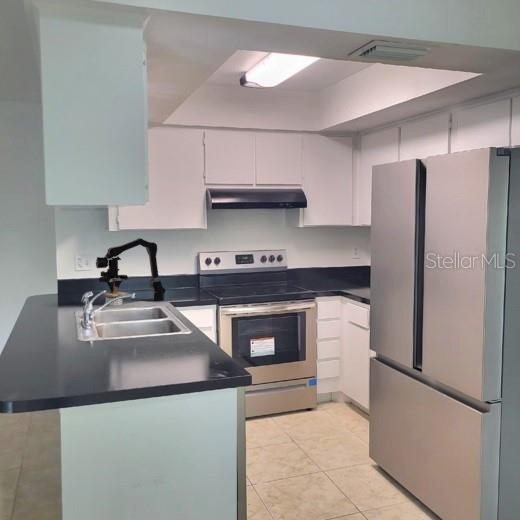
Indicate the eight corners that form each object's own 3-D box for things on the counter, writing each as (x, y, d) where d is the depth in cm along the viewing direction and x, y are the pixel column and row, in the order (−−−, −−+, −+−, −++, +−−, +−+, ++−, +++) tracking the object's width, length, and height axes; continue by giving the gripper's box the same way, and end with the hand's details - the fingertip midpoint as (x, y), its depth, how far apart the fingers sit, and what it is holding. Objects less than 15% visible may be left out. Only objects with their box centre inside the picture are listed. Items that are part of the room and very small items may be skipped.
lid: (115, 292, 337) (115, 284, 337) (129, 293, 330) (128, 286, 329) (99, 294, 326) (98, 287, 326) (112, 296, 319) (112, 288, 319)
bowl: (115, 303, 336) (114, 295, 335) (125, 304, 330) (125, 296, 330) (102, 305, 327) (102, 297, 327) (113, 306, 322) (113, 299, 321)
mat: (141, 301, 341) (141, 301, 341) (160, 304, 331) (160, 303, 331) (121, 305, 327) (121, 304, 327) (140, 308, 317) (140, 307, 317)
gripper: (116, 265, 339) (117, 289, 340) (92, 267, 323) (93, 292, 325) (128, 266, 333) (128, 290, 334) (104, 268, 317) (105, 294, 319)
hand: (114, 291), depth 328 cm, fingers closed on lid, 3 cm apart
